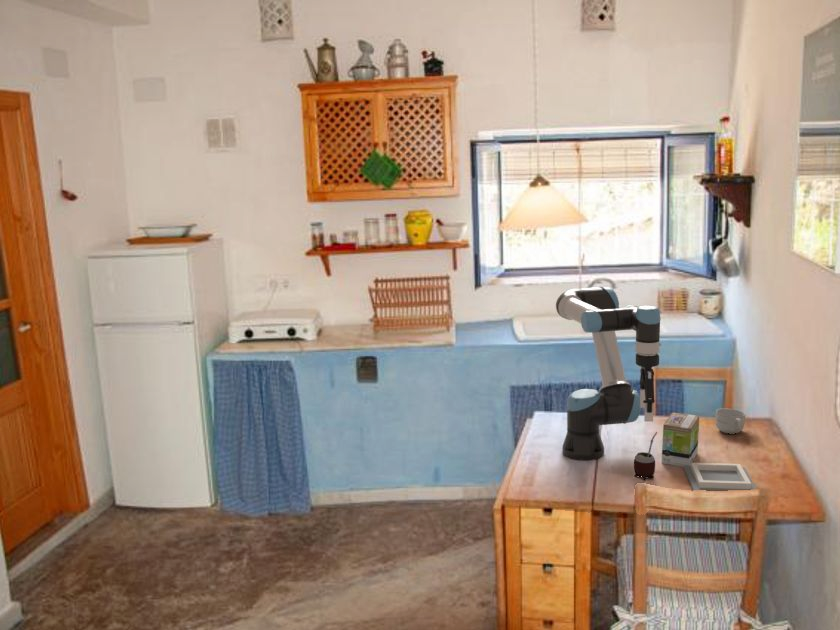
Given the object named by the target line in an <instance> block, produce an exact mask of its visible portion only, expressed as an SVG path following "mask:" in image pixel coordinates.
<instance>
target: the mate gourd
mask: <svg viewBox="0 0 840 630" xmlns="http://www.w3.org/2000/svg"><path fill="white" fill-rule="evenodd" d="M657 434H658V431H656V432H655V433H654V435H653V436H652V438H651V439H650V445H649V448H648V452H644V451H643V452H642V451H641V452H638V453H637V454H636V455H635V456H634V459H633V471H634V473H635V474H634V477H635V476H639V477H638V478H642V477H643V478H642V481H643V480H644V481H646V478H645V477H648V478H647V479H654V478H655V476H654V474H655V470H656V458H655V457H654V455H653V454H652V453H651V450H652V446H653V442H654V439H655V437H656V436H657ZM641 476H642V477H641ZM644 481H643V482H644Z"/></svg>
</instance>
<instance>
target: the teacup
mask: <svg viewBox="0 0 840 630" xmlns="http://www.w3.org/2000/svg"><path fill="white" fill-rule="evenodd" d="M746 415H747V414H746V412H744V411H743V410H739V409H734V408H727V407H723V408H722V407H721V408H718V409H715V426H716V428H717V429H719V431H720V432H722V433H724V434H728V433H729V434H730V435H732V434H733V435H735V433H736V434H739V433H740V432H742V431H743V430H744V428H745V423H746V422H745V421H746V417H747V416H746Z"/></svg>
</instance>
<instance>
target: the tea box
mask: <svg viewBox="0 0 840 630" xmlns="http://www.w3.org/2000/svg"><path fill="white" fill-rule="evenodd" d="M662 425H663V427H662V443H661V444H662V446H661V463H662V464H665V465H671V466H677V467H682V468H684V466H691V463H693V461H694V459H695V458H696V456H697V454H698V450H699V449H698V447H699V431H700V429H699V428H700V416H699V415H694V414H689V413H688V414H687V413H681V412H671V413H670V415H669V417H668V418H667V419H666V421H665V422H664V424H662Z"/></svg>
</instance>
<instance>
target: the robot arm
mask: <svg viewBox="0 0 840 630" xmlns="http://www.w3.org/2000/svg"><path fill="white" fill-rule="evenodd" d="M619 305H620V301H619V298H618V295H617V293H616V292H615V290H614V289H613V288H611V287H608V286H596V287H583V288H572V289H568V290H566V291H564V292H563V293H561V295H559V296H558V297H557V299H556V302H555V309H556V312H557V313H558V315H559V316H560V317H561V318H562V319H565V320H568V321H575V322H577V323H579V324H580V325H581V328H582V329H583V332H585V333H589V334H590V333H591V335H592V339H593V343H594V349H595V355H596V360H597V364H598V370H599V374H600V378H601V383H602V386H600V388H599V390H598V389H595V388H582V389H577V390H575V391H573V392H571V393H569V395H568V396H567V400H566V401H567V403H566V404H567V405H566V420H567V421H566V423H567V424H566V435H565V437H564V441H563V444H562V451H561V452H562V454H563V456H565V457H567V458H568V459H569V458H570V459H572V460H577V461H593V459H594V460H597V458H598V459H600V458H602V457H603V456H604V455H605V446H604V443H603V441H602V440H603V439H602V437H601V435H600V426H607V425H617V424H618V425H620V424H624V425H625V424H629V423H634V422H636V421H637V420H638V418H639V417H640V414H641V413H640V412H641V409H644V418H643V419H644V422H650V423H651V422H654V403H655V402H656V401H655V400H656V399H655V386H654V385H655V384H654V382H655V381H654V380H655V379H654V377H655V371H654V368H655V367H658V366H659V365H660V347H662V343H661V342H660V340H661V339H660V338H661V337H660V335H661V331H660V330H661V318H662V317H661V310H660V308H659V307H658V306H653V305H640V306H638V305H632V304H631V305H629V304H628V305H626V306H625V307H623V308H620V306H619ZM619 331H635V352H636V353H635V364H636V365H637V366H638V367H640V377H639V378H640V379H639V385H640V386H639V387H640V389H639V390H640V391H639V392H638V391H637V390H635V389H633V388H632V385H631V383H630V382H628V381H627V380H626V376H625V375H626V374H625V371H624V367H623V361H622V358H621V357H622V356H621V353H620V347H619V343H618V339H617V334H616V332H619Z"/></svg>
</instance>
